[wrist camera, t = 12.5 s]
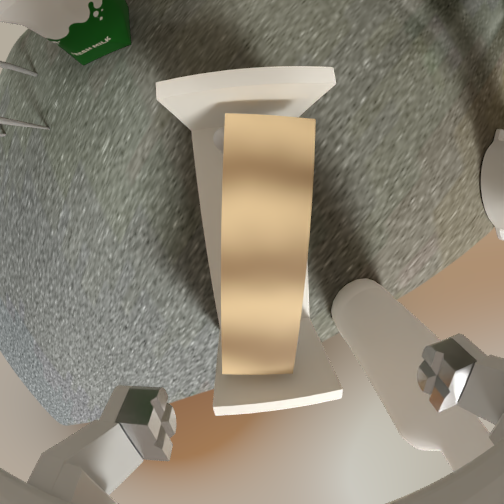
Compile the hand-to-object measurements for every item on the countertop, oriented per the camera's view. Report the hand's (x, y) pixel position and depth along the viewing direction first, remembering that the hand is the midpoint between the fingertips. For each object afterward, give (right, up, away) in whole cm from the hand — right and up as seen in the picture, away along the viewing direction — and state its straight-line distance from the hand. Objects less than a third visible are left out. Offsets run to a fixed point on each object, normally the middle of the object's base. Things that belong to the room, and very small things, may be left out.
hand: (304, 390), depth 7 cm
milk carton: (-20, +32, +16) cm, 41 cm away
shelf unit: (-1, +7, +24) cm, 25 cm away
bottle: (+12, -3, +27) cm, 30 cm away
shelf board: (-1, +4, +15) cm, 16 cm away
